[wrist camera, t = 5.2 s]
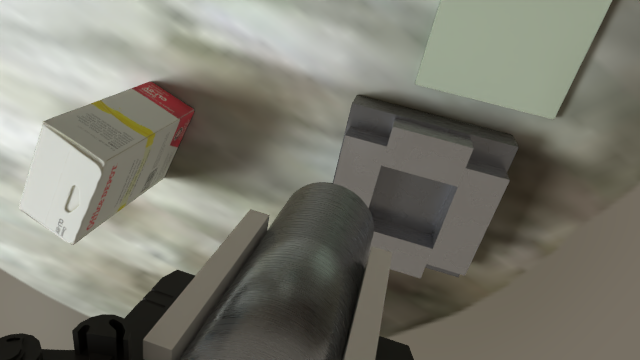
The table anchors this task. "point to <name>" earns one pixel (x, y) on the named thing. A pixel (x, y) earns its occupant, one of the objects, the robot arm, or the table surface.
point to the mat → (510, 50)
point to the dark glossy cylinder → (294, 284)
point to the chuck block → (424, 182)
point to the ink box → (102, 158)
